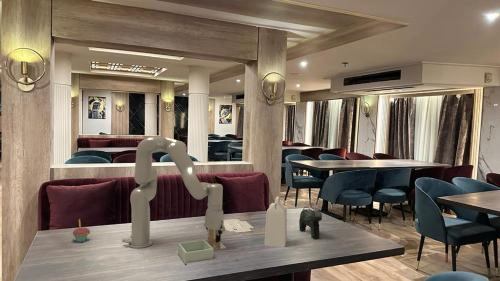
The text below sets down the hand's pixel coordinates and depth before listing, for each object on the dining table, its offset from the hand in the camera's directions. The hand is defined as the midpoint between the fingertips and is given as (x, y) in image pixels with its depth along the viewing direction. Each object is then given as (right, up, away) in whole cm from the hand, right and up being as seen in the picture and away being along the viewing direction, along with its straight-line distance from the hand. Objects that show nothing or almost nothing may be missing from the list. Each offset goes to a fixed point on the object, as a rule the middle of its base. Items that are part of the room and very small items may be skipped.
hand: (214, 240), depth 180 cm
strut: (0, -3, 0) cm, 3 cm away
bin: (-8, -5, -13) cm, 16 cm away
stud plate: (0, -5, 0) cm, 5 cm away
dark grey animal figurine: (+56, -5, +28) cm, 62 cm away
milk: (+34, -5, +13) cm, 37 cm away
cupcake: (-75, -2, +7) cm, 75 cm away
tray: (+9, -4, +42) cm, 43 cm away
